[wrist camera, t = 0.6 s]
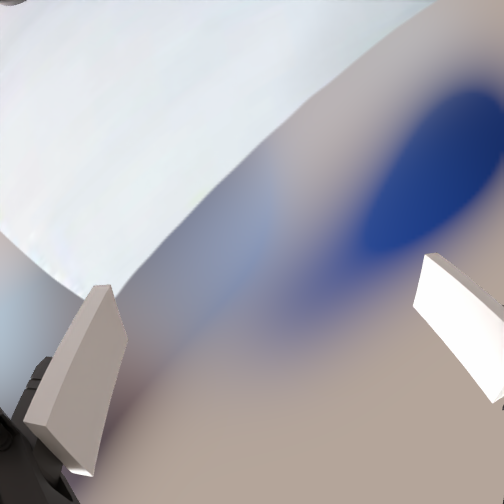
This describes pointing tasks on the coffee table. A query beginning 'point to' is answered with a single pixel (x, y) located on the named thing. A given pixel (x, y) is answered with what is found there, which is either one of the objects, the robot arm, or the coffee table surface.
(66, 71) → the coffee table surface
